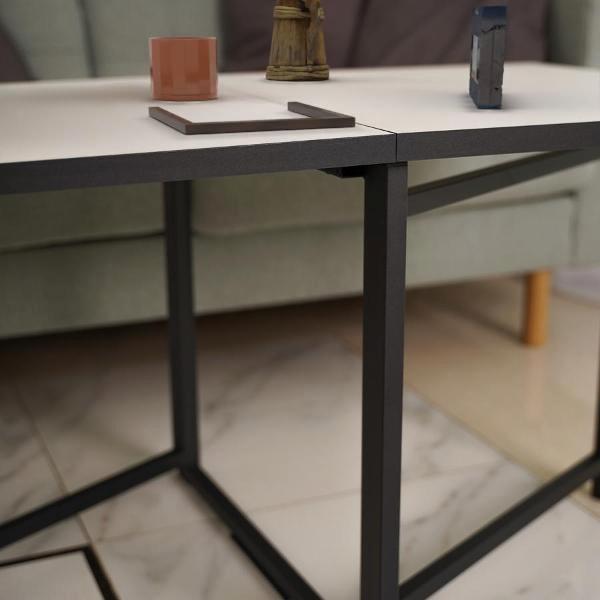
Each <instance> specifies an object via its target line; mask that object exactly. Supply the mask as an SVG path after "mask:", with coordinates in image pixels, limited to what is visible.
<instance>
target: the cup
mask: <svg viewBox="0 0 600 600" xmlns="http://www.w3.org/2000/svg"><path fill="white" fill-rule="evenodd" d="M148 53H149V54H148V55H149V76H150V77H149V78H150V93H151V98H152V99H153V100H157V101H169V102H170V101H172V102H174V101H175V102H191V101H192V102H193V101H195V102H196V101H208V100H216V99H218V98H219V69H218V68H219V67H218V38H217V37H214V36H213V37H212V36H159V37H157V36H156V37H149V38H148Z"/></svg>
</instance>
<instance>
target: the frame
mask: <svg viewBox="0 0 600 600" xmlns="http://www.w3.org/2000/svg"><path fill="white" fill-rule="evenodd" d="M147 109H148V116H150V117H152V118H153V119H156V120H157V121H160V122H161V123H163V124H166V125H167V126H169V127H171V128H173V129H175V130H177V131H179V132H181V133H183V135H200V134H202V135H203V134H220V133H223V134H224V133H225V134H226V133H242V132H243V133H244V132H245V133H246V132H265V131H285V130H307V129H308V130H309V129H328V128H329V129H330V128H349V127H350V128H351V127H352V128H353V127H356V117H355V116H353V115H348V114H344V113H341V112H337V111H333V110H330V109H326V108H322V107H318V106H315V105H311V104H308V103H303V102H300V101H287V111H291V112H293V113H297V114H299V115H300V114H301V115H304V116H308V117H294V118H272V119H271V118H270V119H269V118H268V119H248V120H247V119H246V120H227V121H226V120H223V121H202V122H201V121H200V122H193V121H191V120H188V119H186V118H184V117H182V116H179V115H178V114H175V113H173V112H171V111H169V110H166V109H164V108H162V107H160V106H148V108H147Z"/></svg>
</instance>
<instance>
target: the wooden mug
mask: <svg viewBox="0 0 600 600" xmlns="http://www.w3.org/2000/svg"><path fill="white" fill-rule="evenodd" d="M275 4H276V5H275V6H274V7H273V14H272V15H273V16H272V17H273V18H274V21H273V30H272V36H271V37H272V38H271V46H270V51H269V60H268V65H267V66H266V72H265V79H267V80H272V81H287V82H307V81H324V80H328V79H330V66H329V64H327V55H326V46H325V36H324V35H325V34H324V25H323V23H324V22H323V20H325V13H324V9H323V7H322V5H321V0H276V3H275Z"/></svg>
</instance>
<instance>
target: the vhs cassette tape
mask: <svg viewBox="0 0 600 600" xmlns="http://www.w3.org/2000/svg"><path fill="white" fill-rule="evenodd" d="M507 16H508V6H507V5H479V6H473V7H472V13H471V32H470V57H469V78H468V79H469V81H468V93H469V96H470V98H471V100H472V102H473V103H474V105H475V107H476V109H494V110H495V109H502V108H503V107H502V105H503V103H502V101H503V87H502V86H503V84H504V72H505V60H506V56H505V55H506V42H507V41H506V39H507V38H506V35H507Z"/></svg>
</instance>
